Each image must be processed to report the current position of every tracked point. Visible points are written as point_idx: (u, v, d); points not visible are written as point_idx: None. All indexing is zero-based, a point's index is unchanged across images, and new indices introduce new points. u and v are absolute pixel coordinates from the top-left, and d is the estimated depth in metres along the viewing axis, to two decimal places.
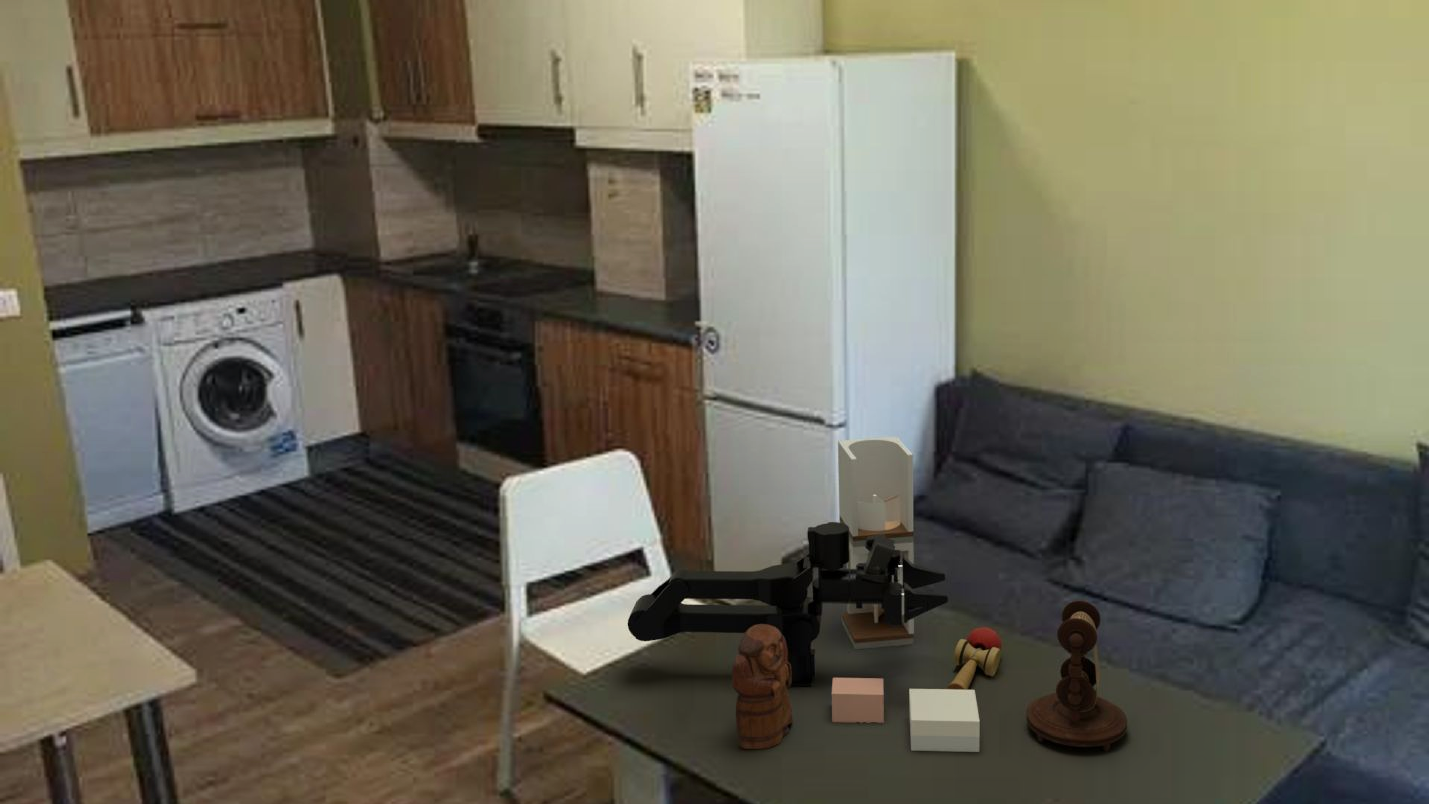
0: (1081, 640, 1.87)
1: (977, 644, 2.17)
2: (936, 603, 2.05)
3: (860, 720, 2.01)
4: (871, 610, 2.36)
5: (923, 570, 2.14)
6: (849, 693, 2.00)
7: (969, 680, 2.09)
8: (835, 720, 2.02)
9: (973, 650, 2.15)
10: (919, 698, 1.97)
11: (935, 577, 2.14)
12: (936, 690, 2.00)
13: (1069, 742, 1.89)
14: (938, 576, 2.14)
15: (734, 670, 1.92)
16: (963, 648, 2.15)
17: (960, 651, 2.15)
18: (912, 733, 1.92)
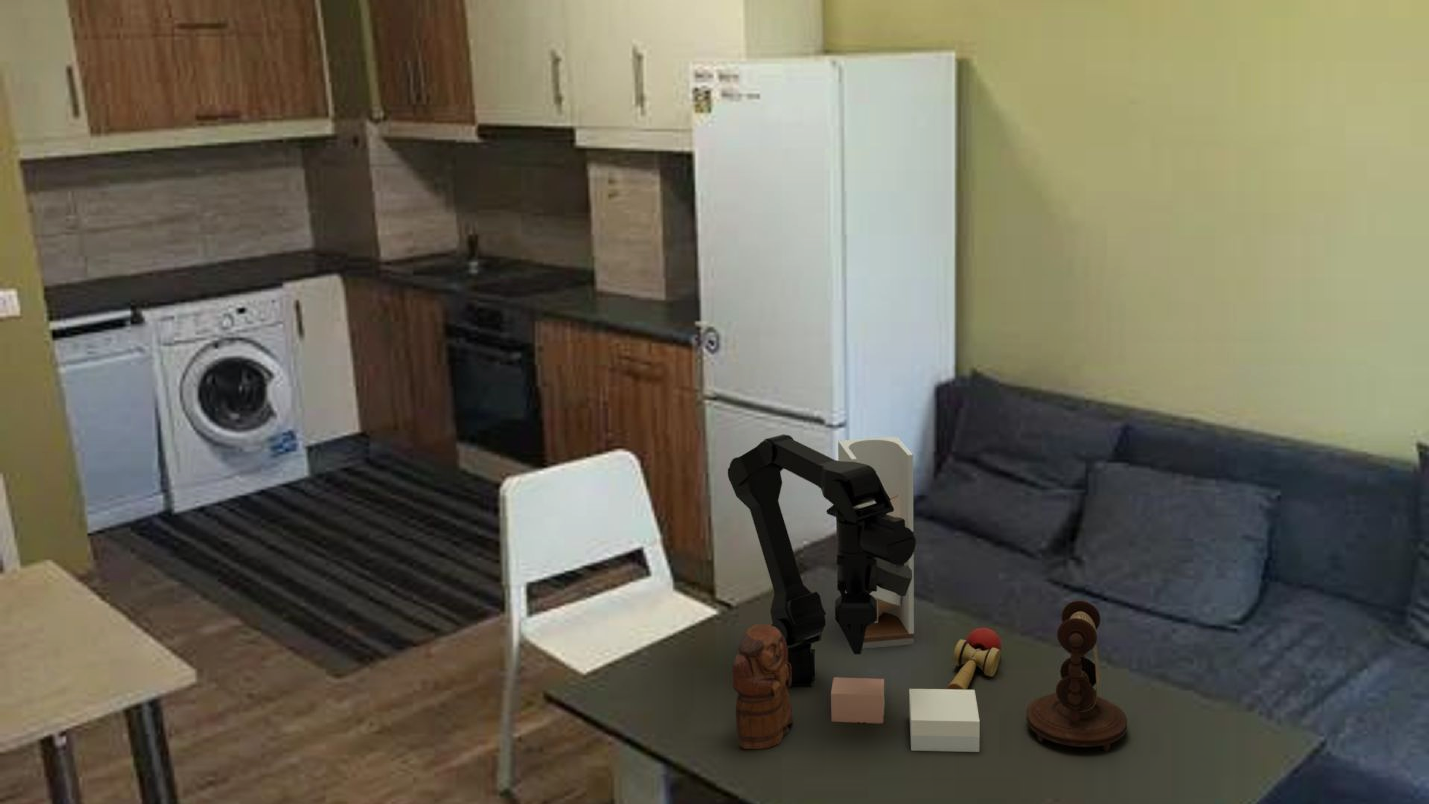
0: (1081, 640, 1.87)
1: (976, 644, 2.17)
2: (853, 644, 1.95)
3: (859, 720, 2.01)
4: None
5: None
6: (848, 693, 2.00)
7: (968, 680, 2.09)
8: (834, 720, 2.02)
9: (972, 650, 2.15)
10: (919, 698, 1.97)
11: None
12: (936, 690, 2.00)
13: (1069, 742, 1.89)
14: None
15: (734, 670, 1.92)
16: (962, 648, 2.15)
17: (959, 651, 2.15)
18: (912, 733, 1.92)
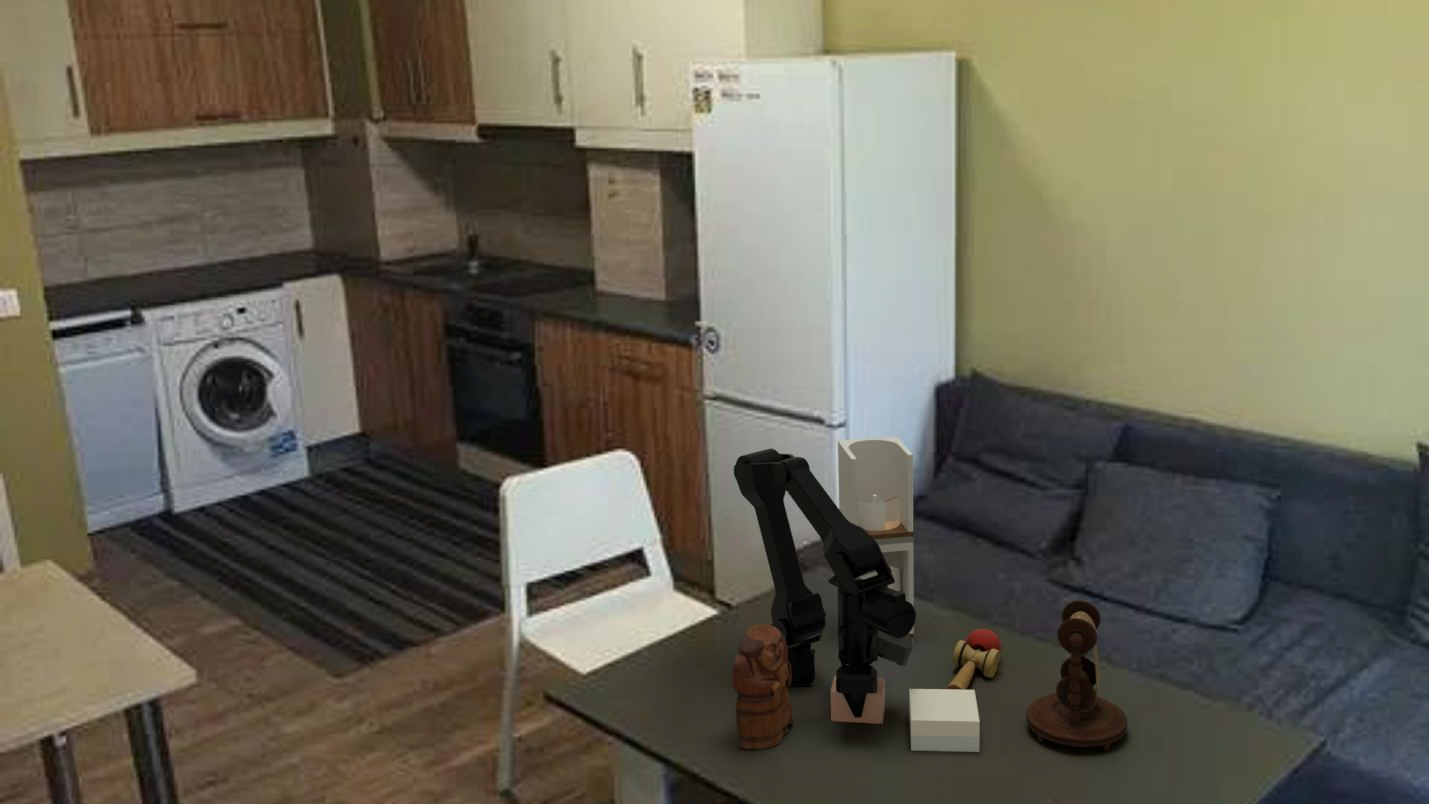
0: (1081, 640, 1.87)
1: (976, 645, 2.17)
2: (854, 708, 2.00)
3: (859, 719, 2.01)
4: None
5: None
6: None
7: (967, 681, 2.08)
8: (834, 718, 2.02)
9: (972, 651, 2.15)
10: (919, 698, 1.97)
11: None
12: (936, 690, 2.00)
13: (1069, 742, 1.89)
14: None
15: (734, 670, 1.92)
16: (962, 649, 2.15)
17: (959, 652, 2.14)
18: (912, 733, 1.92)
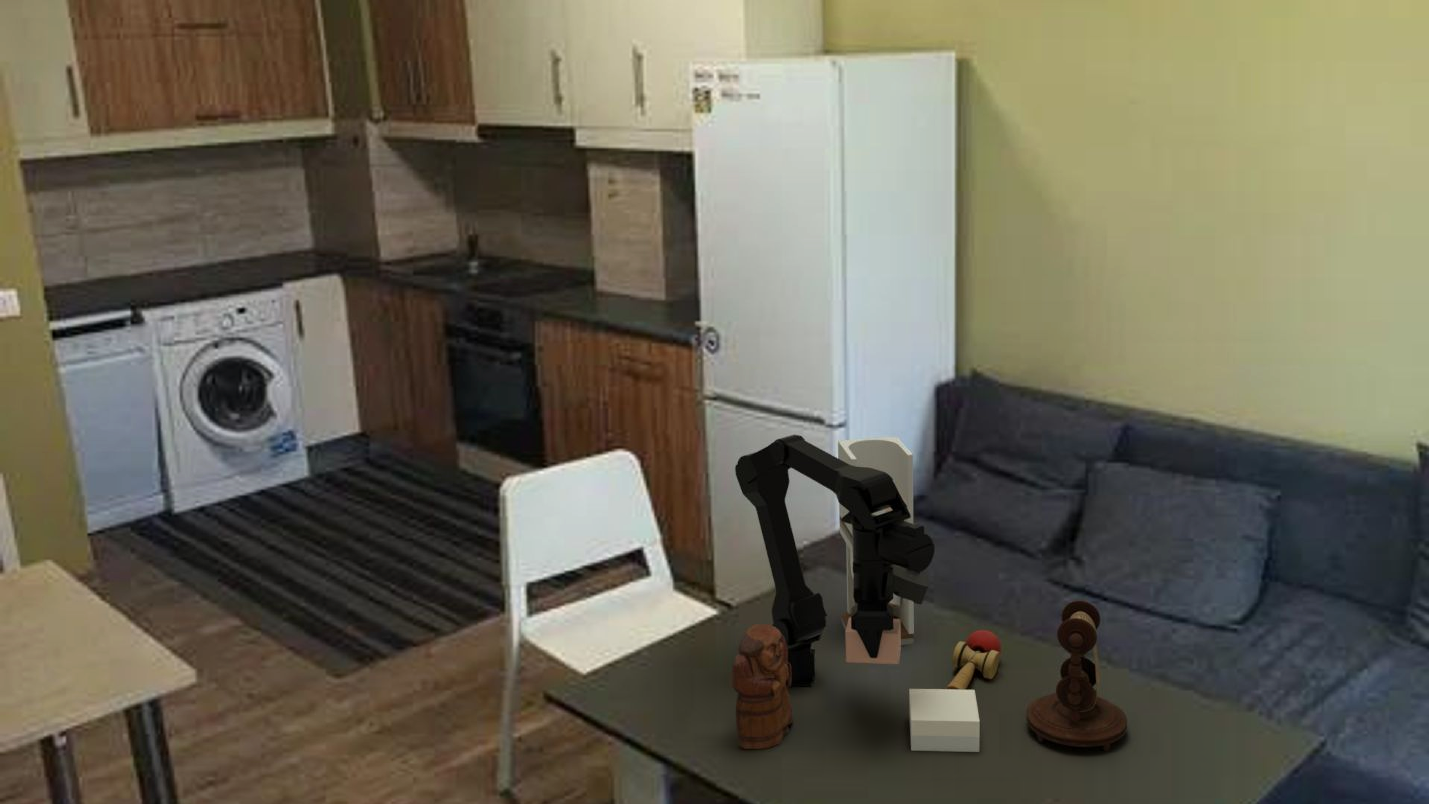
0: (1081, 640, 1.87)
1: (976, 646, 2.16)
2: (870, 648, 1.95)
3: (874, 660, 1.97)
4: None
5: None
6: None
7: (967, 683, 2.08)
8: (849, 659, 1.98)
9: (972, 653, 2.14)
10: (919, 698, 1.97)
11: None
12: (936, 690, 2.00)
13: (1069, 742, 1.89)
14: None
15: (734, 670, 1.92)
16: (962, 650, 2.14)
17: (958, 653, 2.14)
18: (912, 733, 1.92)
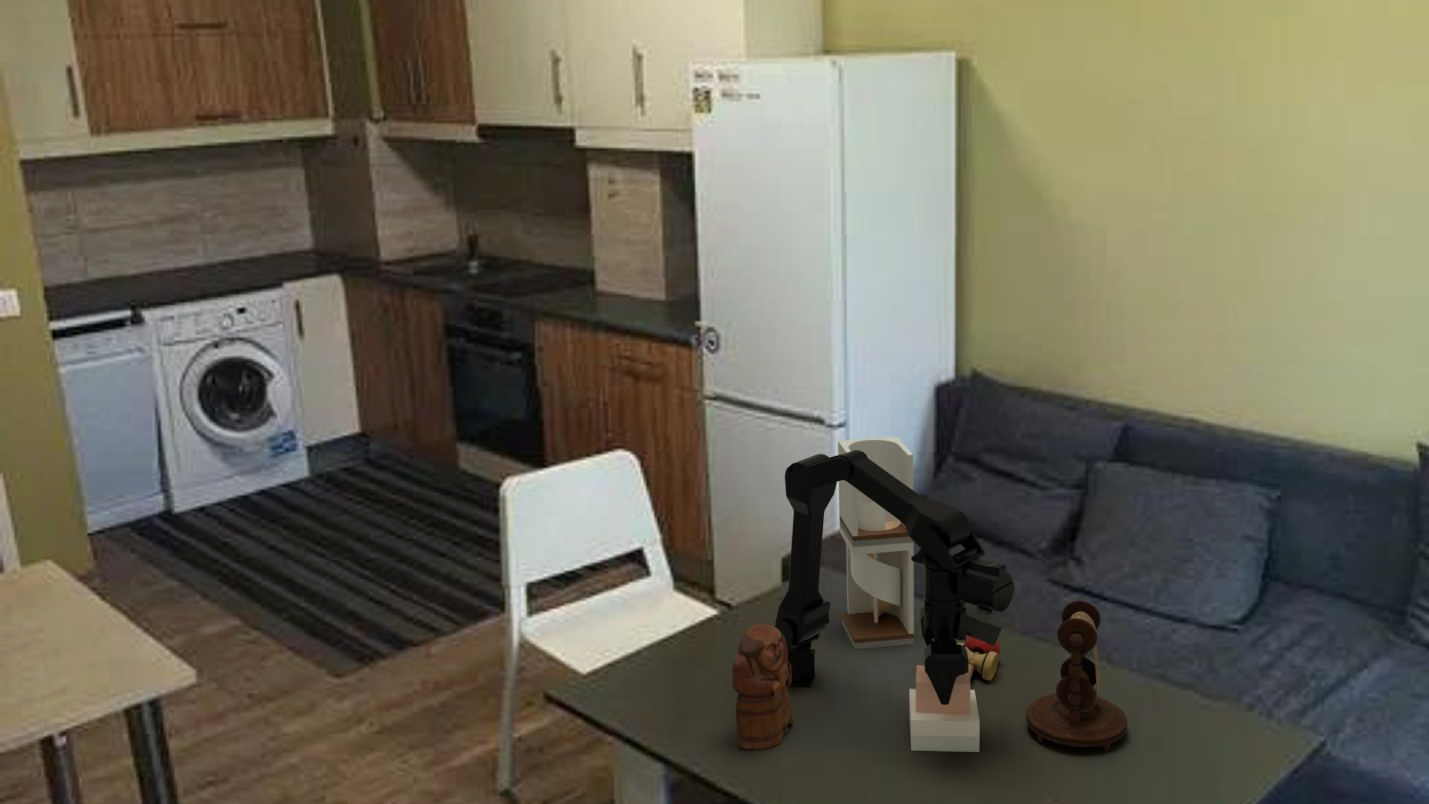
0: (1081, 640, 1.87)
1: (975, 648, 2.16)
2: (941, 695, 1.89)
3: (945, 710, 1.92)
4: (871, 610, 2.36)
5: None
6: None
7: None
8: (919, 709, 1.93)
9: (971, 654, 2.14)
10: None
11: None
12: None
13: (1069, 742, 1.89)
14: None
15: (734, 670, 1.92)
16: None
17: None
18: (912, 733, 1.92)
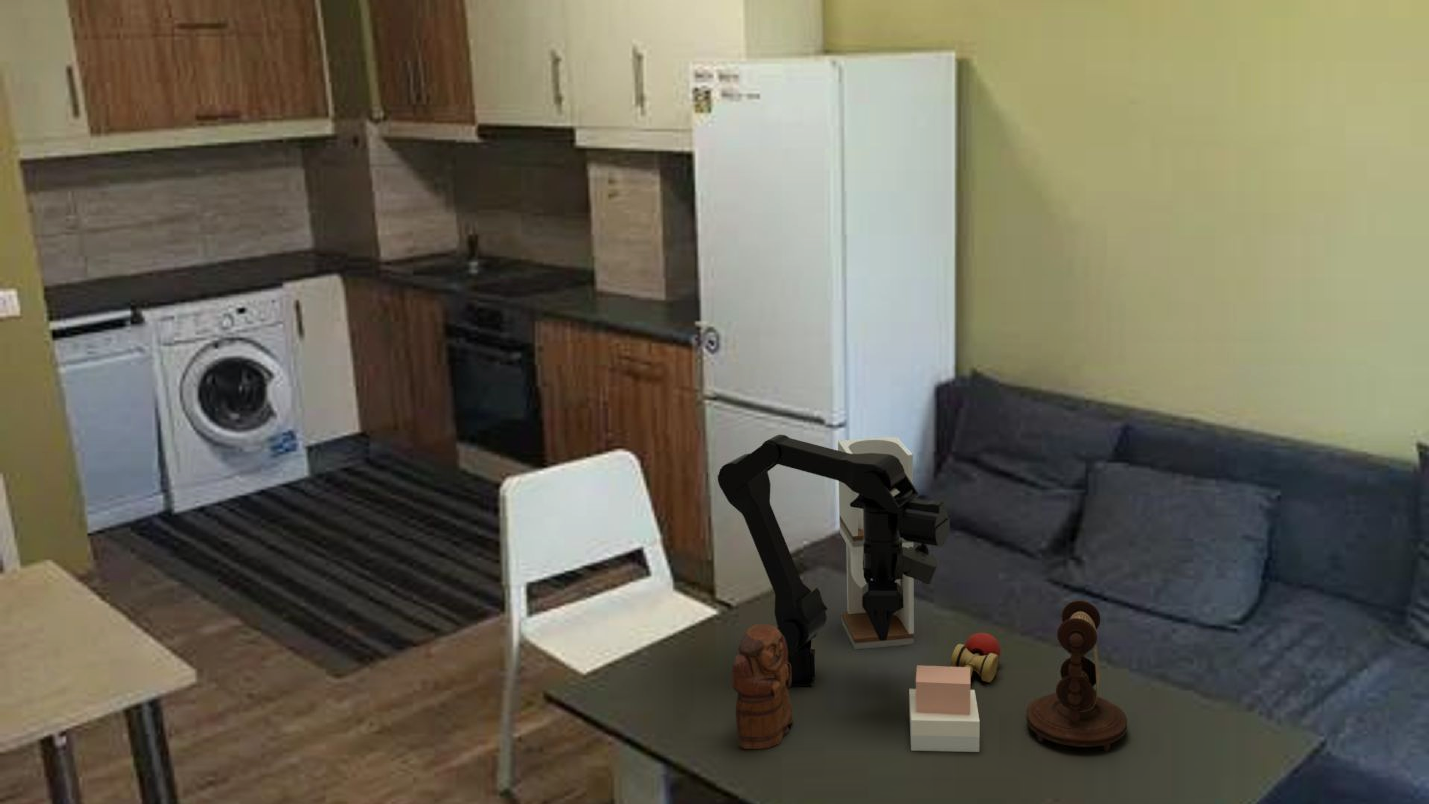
0: (1081, 640, 1.87)
1: (975, 649, 2.15)
2: (879, 631, 2.00)
3: (945, 710, 1.92)
4: None
5: None
6: (934, 682, 1.92)
7: None
8: (919, 709, 1.93)
9: (970, 655, 2.13)
10: None
11: None
12: None
13: (1069, 742, 1.89)
14: None
15: (734, 670, 1.92)
16: (960, 653, 2.13)
17: (957, 656, 2.13)
18: (912, 733, 1.92)
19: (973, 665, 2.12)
